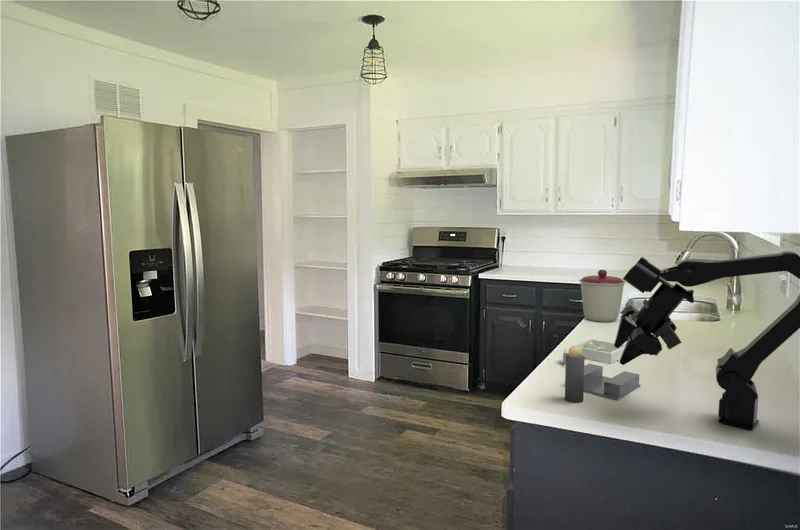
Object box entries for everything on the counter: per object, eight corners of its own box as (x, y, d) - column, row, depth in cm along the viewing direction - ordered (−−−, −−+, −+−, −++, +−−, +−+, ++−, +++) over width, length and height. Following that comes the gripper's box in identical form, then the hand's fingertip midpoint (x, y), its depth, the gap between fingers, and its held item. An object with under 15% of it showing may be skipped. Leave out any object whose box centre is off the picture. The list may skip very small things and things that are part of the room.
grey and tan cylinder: (586, 399, 135) (587, 348, 134) (577, 404, 132) (579, 352, 131) (570, 395, 138) (571, 345, 137) (561, 399, 135) (562, 348, 134)
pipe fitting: (603, 353, 178) (583, 352, 178) (605, 342, 178) (584, 341, 178) (613, 361, 170) (592, 359, 170) (615, 348, 170) (593, 347, 170)
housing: (640, 386, 144) (640, 373, 144) (617, 400, 134) (618, 386, 134) (590, 375, 154) (590, 362, 154) (565, 387, 144) (566, 374, 144)
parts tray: (628, 355, 173) (629, 345, 173) (611, 363, 164) (611, 353, 164) (590, 348, 183) (590, 338, 182) (571, 355, 174) (571, 346, 173)
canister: (592, 313, 239) (594, 266, 237) (632, 320, 225) (634, 269, 223) (569, 319, 228) (570, 269, 226) (609, 326, 214) (611, 273, 212)
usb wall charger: (577, 362, 166) (577, 350, 166) (576, 369, 160) (576, 356, 159) (563, 361, 168) (564, 348, 167) (562, 367, 161) (562, 354, 161)
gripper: (702, 341, 116) (655, 392, 122) (681, 309, 134) (640, 356, 139) (657, 313, 117) (612, 365, 122) (641, 285, 134) (603, 333, 140)
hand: (618, 355), depth 131 cm, fingers open, 9 cm apart
